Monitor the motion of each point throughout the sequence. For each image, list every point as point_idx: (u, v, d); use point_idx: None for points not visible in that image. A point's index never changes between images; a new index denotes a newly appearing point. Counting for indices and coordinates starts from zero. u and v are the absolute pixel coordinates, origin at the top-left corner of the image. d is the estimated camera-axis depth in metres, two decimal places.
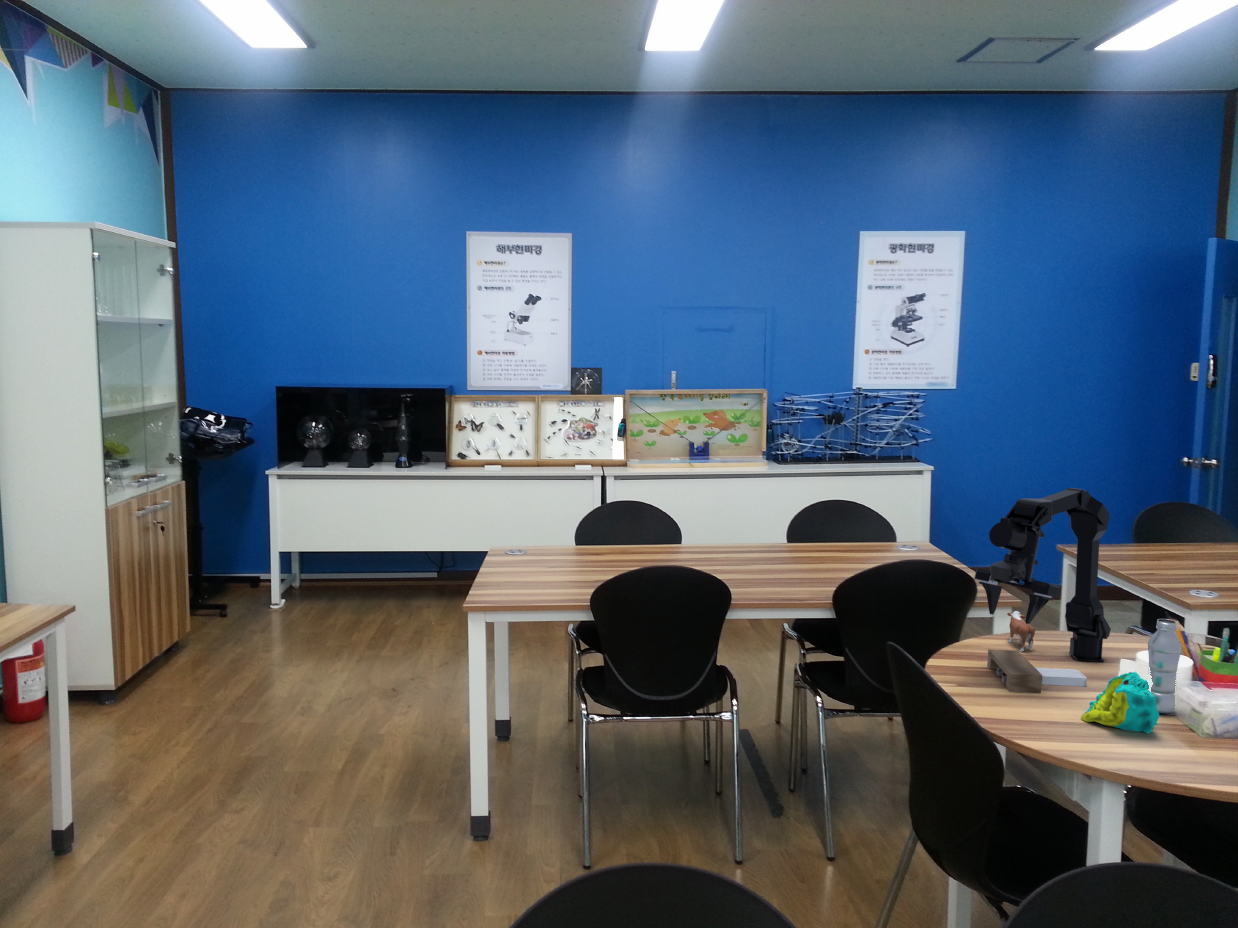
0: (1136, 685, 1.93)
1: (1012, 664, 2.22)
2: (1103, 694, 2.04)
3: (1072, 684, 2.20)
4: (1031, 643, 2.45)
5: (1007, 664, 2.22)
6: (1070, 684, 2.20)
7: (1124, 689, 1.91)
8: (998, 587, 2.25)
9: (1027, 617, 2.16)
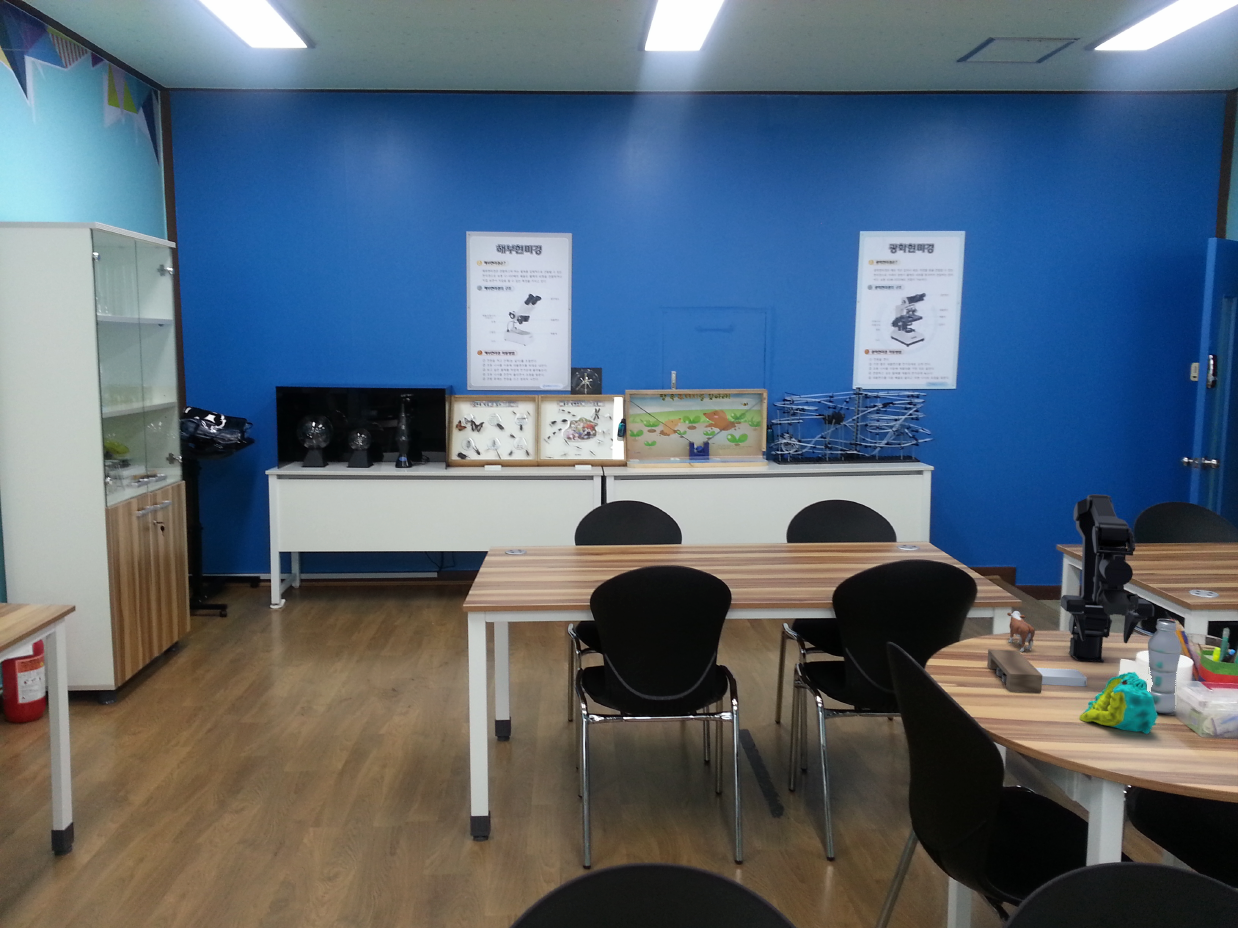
0: (1135, 685, 1.93)
1: (1012, 664, 2.22)
2: (1102, 694, 2.04)
3: (1072, 684, 2.20)
4: (1031, 643, 2.45)
5: (1007, 664, 2.22)
6: (1070, 684, 2.20)
7: (1122, 689, 1.91)
8: None
9: (1127, 637, 2.19)
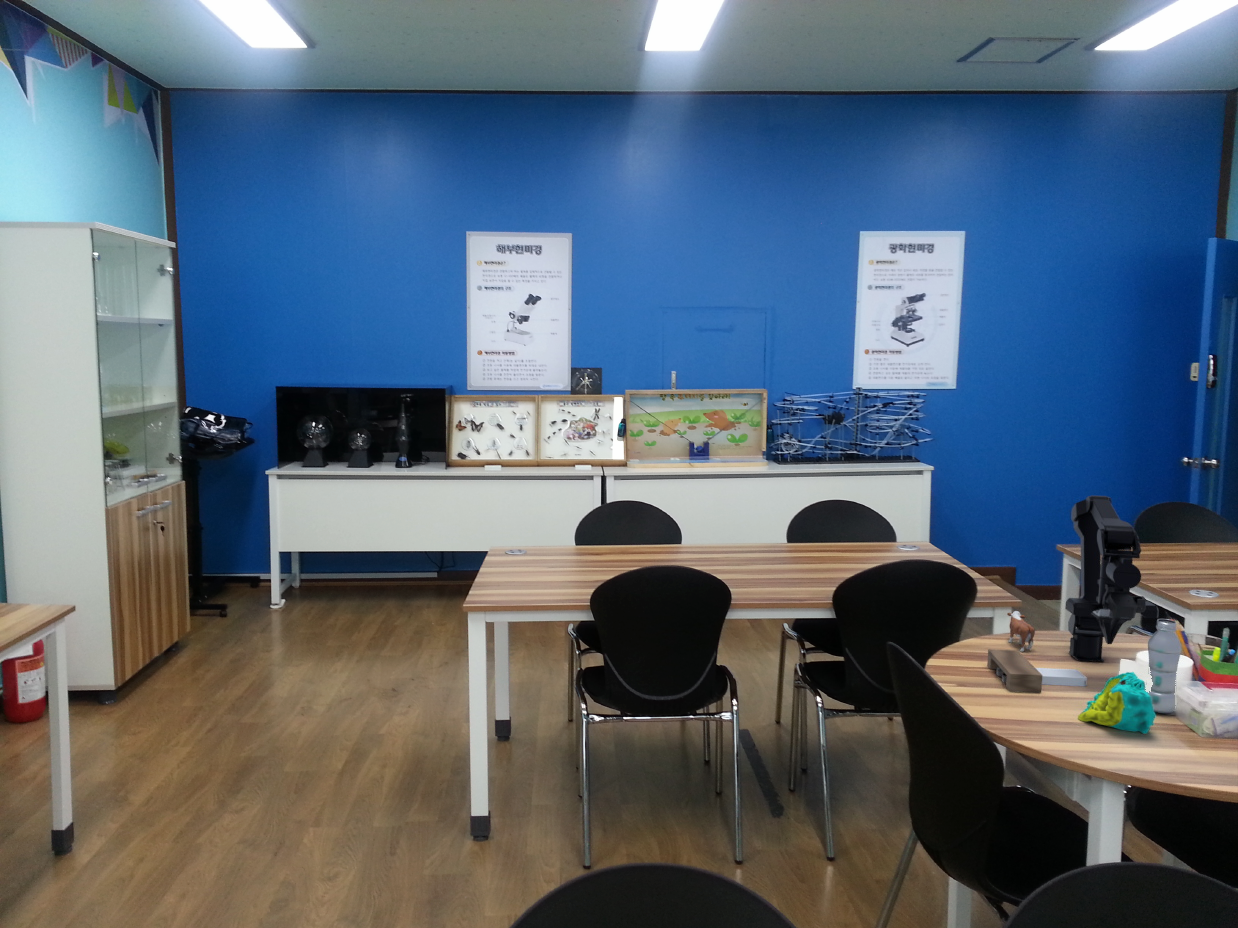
0: (1133, 685, 1.93)
1: (1012, 664, 2.22)
2: (1101, 694, 2.04)
3: (1072, 684, 2.20)
4: (1031, 643, 2.45)
5: (1007, 664, 2.22)
6: (1070, 684, 2.20)
7: (1120, 689, 1.91)
8: None
9: (1111, 638, 2.21)
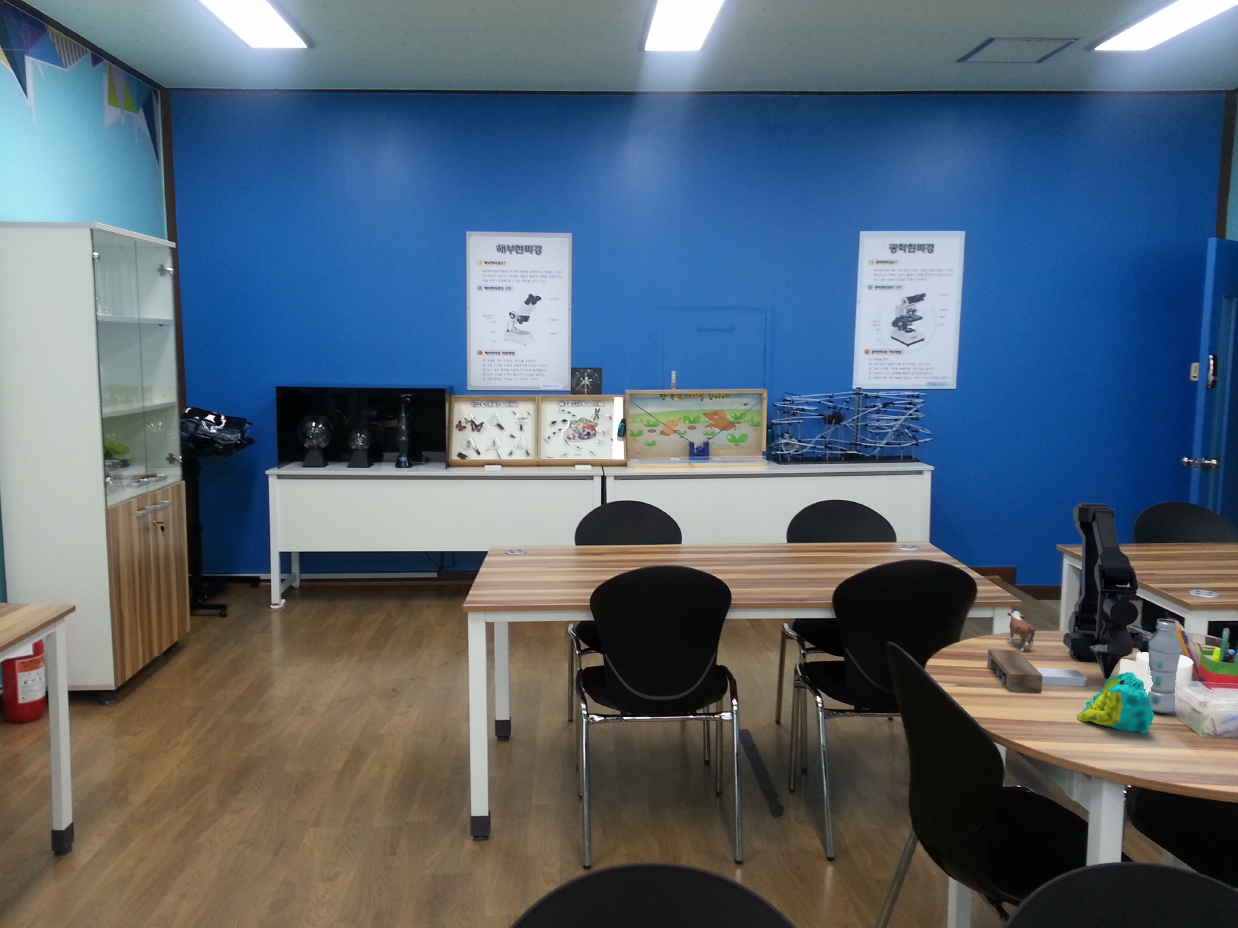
0: (1132, 685, 1.93)
1: (1012, 664, 2.22)
2: (1100, 694, 2.04)
3: (1072, 684, 2.20)
4: (1031, 643, 2.45)
5: (1007, 664, 2.22)
6: (1070, 684, 2.20)
7: (1119, 688, 1.91)
8: None
9: (1109, 673, 2.22)
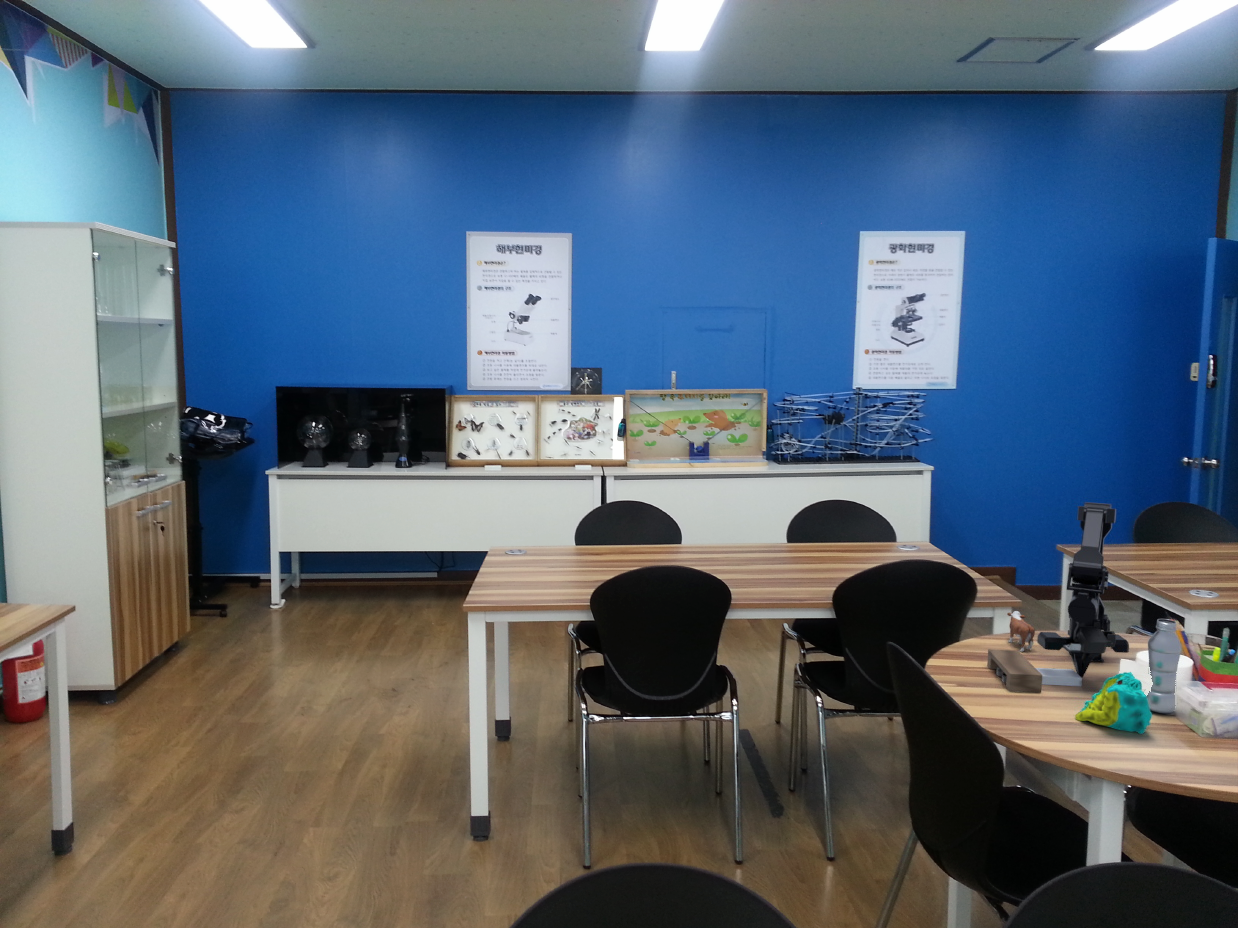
0: (1130, 685, 1.93)
1: (1012, 664, 2.22)
2: (1099, 694, 2.04)
3: (1067, 684, 2.21)
4: (1031, 643, 2.45)
5: (1007, 664, 2.22)
6: (1065, 684, 2.21)
7: (1116, 688, 1.91)
8: None
9: (1082, 672, 2.22)
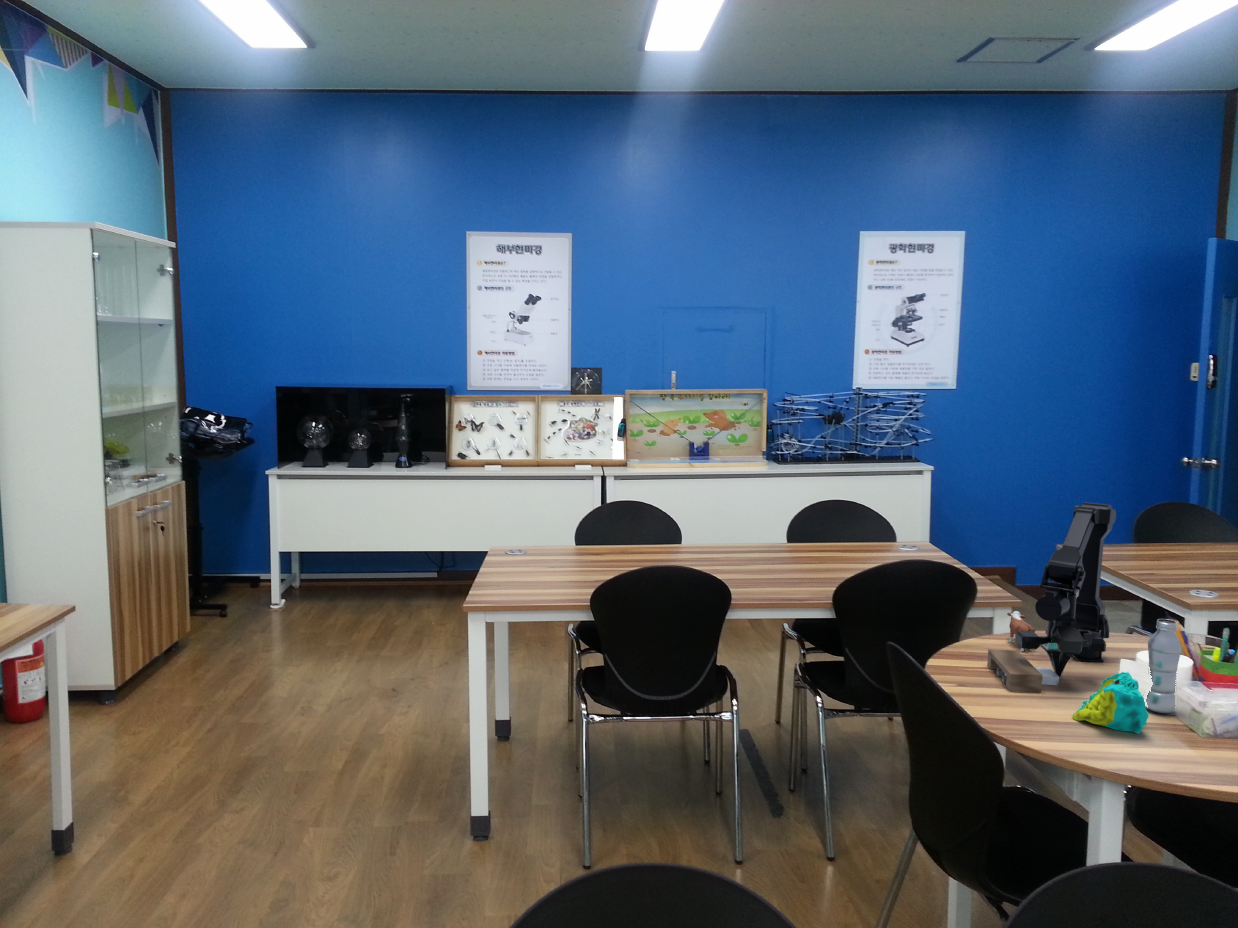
0: (1126, 685, 1.93)
1: (1012, 664, 2.22)
2: (1097, 694, 2.04)
3: (1044, 683, 2.21)
4: None
5: (1007, 664, 2.22)
6: (1042, 683, 2.21)
7: (1112, 688, 1.91)
8: None
9: (1060, 671, 2.23)
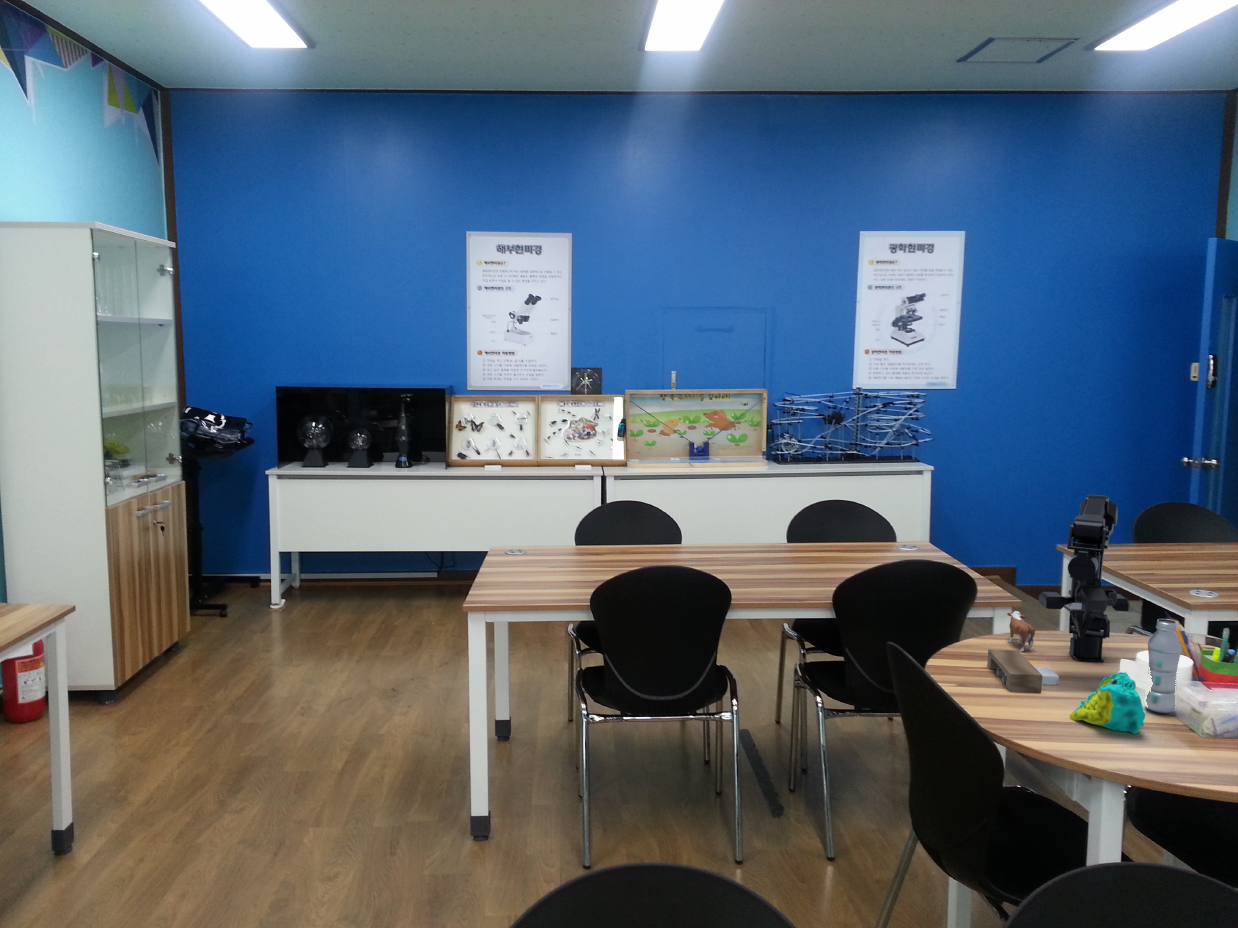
0: (1124, 685, 1.93)
1: (1012, 664, 2.22)
2: (1095, 694, 2.04)
3: (1044, 683, 2.21)
4: (1031, 643, 2.45)
5: (1007, 664, 2.22)
6: (1042, 683, 2.21)
7: (1109, 688, 1.91)
8: None
9: (1083, 631, 2.24)
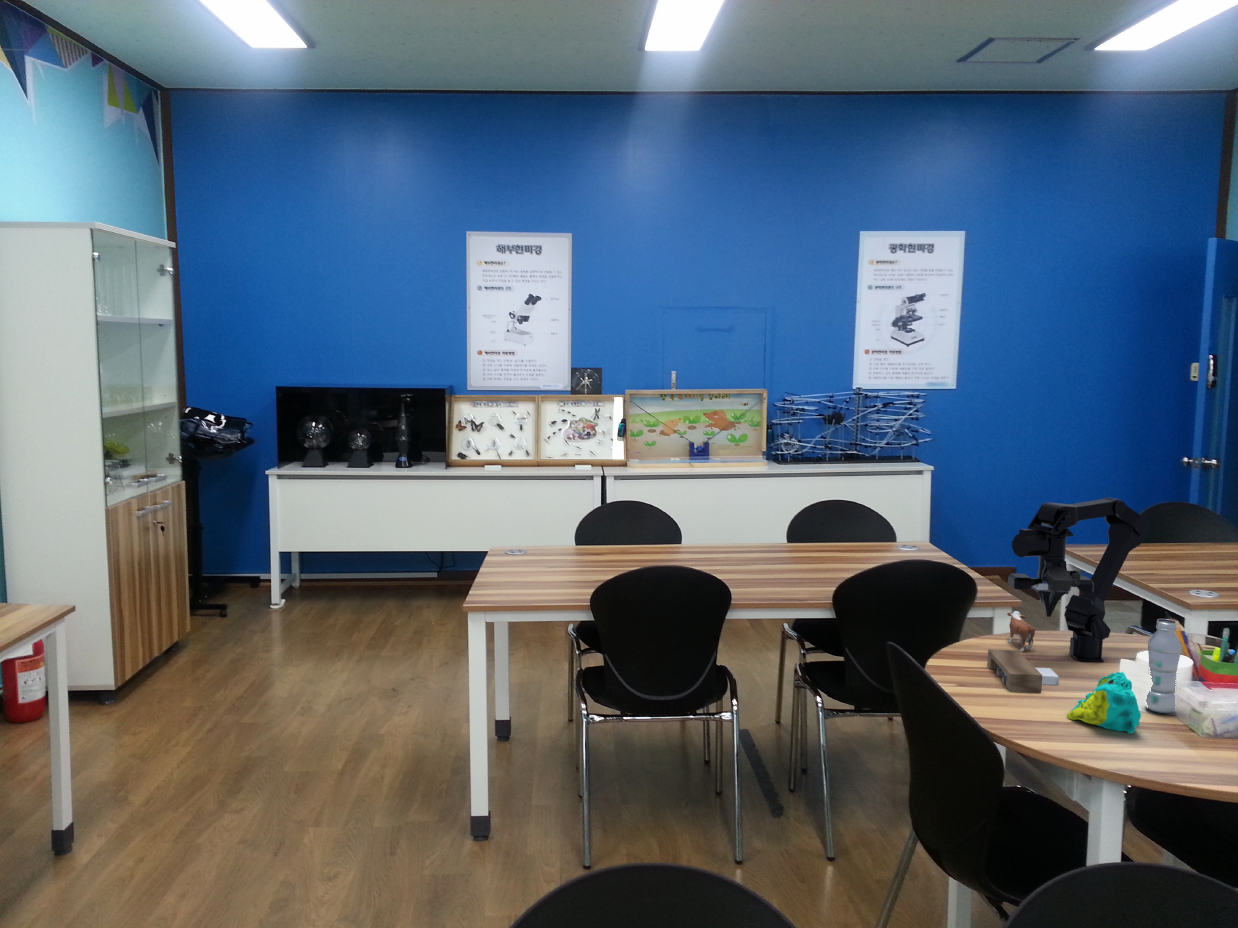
0: (1120, 684, 1.93)
1: (1012, 664, 2.22)
2: (1093, 693, 2.04)
3: (1044, 683, 2.21)
4: (1031, 643, 2.45)
5: (1007, 664, 2.22)
6: (1042, 683, 2.21)
7: (1104, 687, 1.91)
8: None
9: (1050, 611, 2.34)
